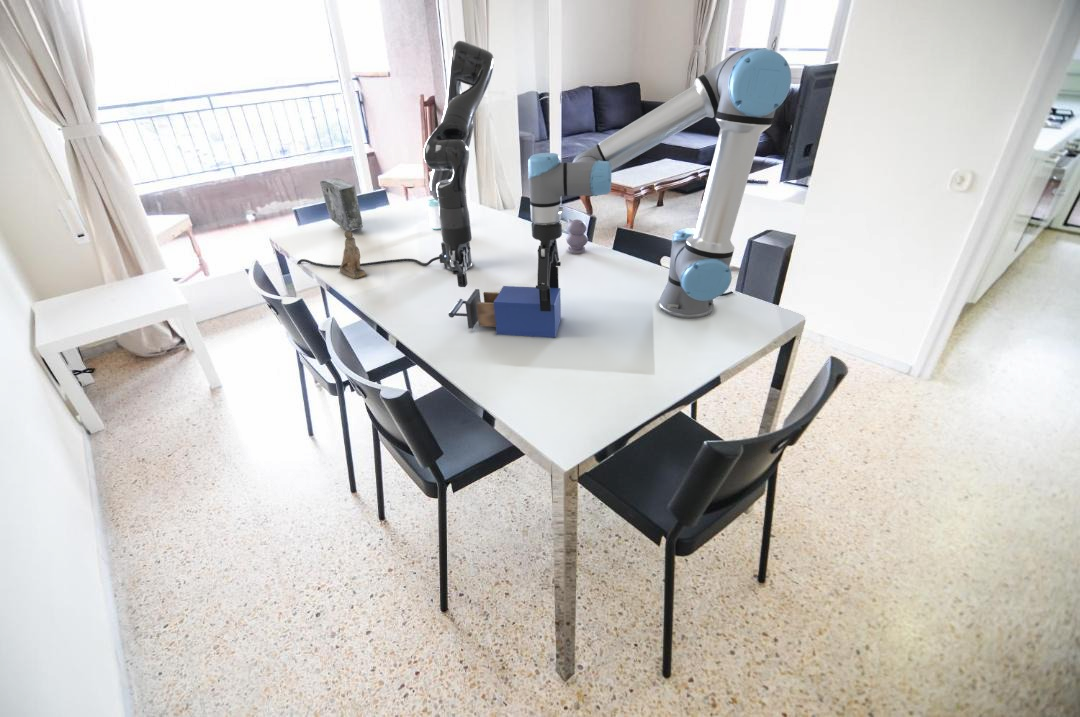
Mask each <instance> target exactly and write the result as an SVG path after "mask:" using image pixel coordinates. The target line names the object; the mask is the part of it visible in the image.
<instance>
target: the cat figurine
mask: <svg viewBox="0 0 1080 717" xmlns="http://www.w3.org/2000/svg"><path fill="white" fill-rule="evenodd" d="M567 222H568V224H567V230H568V233H567V235H566V238H565V240H566V243H567V244H568V245H569V246H568V247H567V248H568V250H567V251H568V253H570V254H573V255H580V254H584V253H585V252H586V245H587V243H588V241H589V237H588V235H587V233H586V231H587V225H586V223H585V222H584V220H581V219H578V218H577V219H569V218H567Z"/></svg>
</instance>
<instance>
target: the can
mask: <svg viewBox="0 0 1080 717" xmlns="http://www.w3.org/2000/svg"><path fill="white" fill-rule="evenodd" d="M426 207H427V211H428V212H427V213H428V219H429V226H430V228H431V229H433V230H441V225H440V218H439V203H438V201H437V200H435V199H434V198H432V199H428V201H427V204H426Z"/></svg>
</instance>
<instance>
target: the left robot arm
mask: <svg viewBox="0 0 1080 717" xmlns="http://www.w3.org/2000/svg"><path fill="white" fill-rule="evenodd" d="M449 58H450V59H449V66H448V78H447V87H446V88H447V89H446V98H445V104H444V109H443V115H442V118H441V121H440V123H439V124H438V125H437V127H436V128H435V129H434V130H433V132H432V133H431V134H430V136H428V138H427V140H426V142H425V144H424V148H423V159H424V162H425V164H426V166H427V167H428V168H429V169H431V170H432V171H431V175H430V180H429V189H430V193H431V196H432V199H435V200H437V201H438V203H439V218H440V225H441V229H440V232H441V238H442V239H441V240H442V242H441V243H440V246H441V250H442V251H441V253H439V254H438V256H435V257H433V258H431V259H430V260H428V261H427V262H421V261H420V260H418V259H415V258H395V259H386V260H380V261H378V260H377V261H370V262H361V263H360V267H366V266H368V267H369V266H376V265H382V264H391V263H401V262H413V263H416V264H418V265H419V266H423V267H427V266H429V265H430V264H431V263H433V262H435V261H438V260H439V263H440V264H443V267H444V269H445V270H449V271H451V273H452V275H456V279H457V286H458V288H466V287H467V286H468V277H467V272H468V270H469V269H471V268H472V266H473V260H472V250H471V241H472V228H471V220H470V219H471V218H470V210H469V208H468V201H467V186H466V184H467V183H466V182H467V174H468V167H469V161H470V150H469V148H470V145H471V141H472V136H473V133H474V132H473V131H474V122H473V119H474V118H475V117H474V116H475V114H476V112H477V109H478V108H479V106H480V104H481V102H482V99H483V97H484V96H485V93H486V91H487V88H488V87H489V85H490V80H491V78H492V75H493V71H494V65H495V57H494V55H493V52H491V51H489V50H487V49H485V48H482V47H479V46H477V45H475V44H472V43H469V42H466V41H464V40H458V41H456V42H455V43H454V45H453V47H452V50H451V53H450V57H449ZM462 83H463V84H465V85H468V86H469V88H467V89H466V90H464V91H463V90H462ZM302 263H308V264H310V265H313V266H316V267H322V268H323V267H324V268H331V269H332V268H333V269H340V266H341V264H327V263H321V262H320V263H319V262H315V261H312V260H309V259H306V258H302V259H299V260H297V263H296V264H297V265H300V264H302Z"/></svg>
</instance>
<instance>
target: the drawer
mask: <svg viewBox="0 0 1080 717" xmlns="http://www.w3.org/2000/svg"><path fill="white" fill-rule="evenodd" d="M480 291H481V290H480V288H475V289H474V290H473V292H472V293H471V294H470V296H469V297H468V299H467V300H464V299H462V298H459V299H458V300H457V302H456V303H455V304H454V305H453V307H452V308H451V310H450V311H449V313H448V317H449V318H451V319H452V318H454V317H466V319H467V326H468V329H474V327H475V326H476V324H477V322H478V327H495V328H496V321H495V311H494V301H495V299H496V298H497V296H498V294H499V293H500V292H495V291H493V292H492V291H484V292H483V301H482V300H481V292H480ZM464 304H465V311H466V313H462V312H459V310H460V309H461V307H462V306H463V305H464Z"/></svg>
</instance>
